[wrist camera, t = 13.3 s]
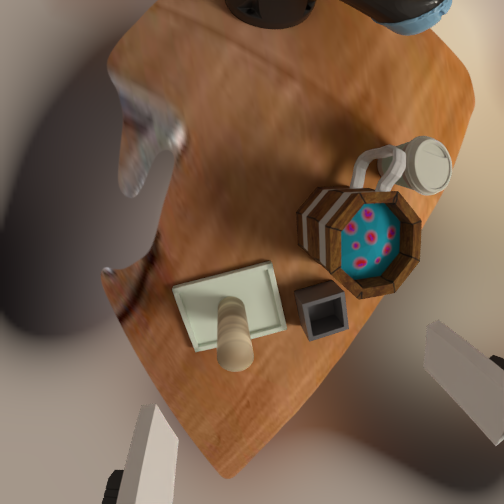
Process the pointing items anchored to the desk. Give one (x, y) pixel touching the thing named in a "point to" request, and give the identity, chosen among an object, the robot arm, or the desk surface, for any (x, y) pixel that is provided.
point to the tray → (225, 285)
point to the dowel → (233, 335)
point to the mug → (363, 229)
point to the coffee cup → (422, 166)
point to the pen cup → (322, 309)
